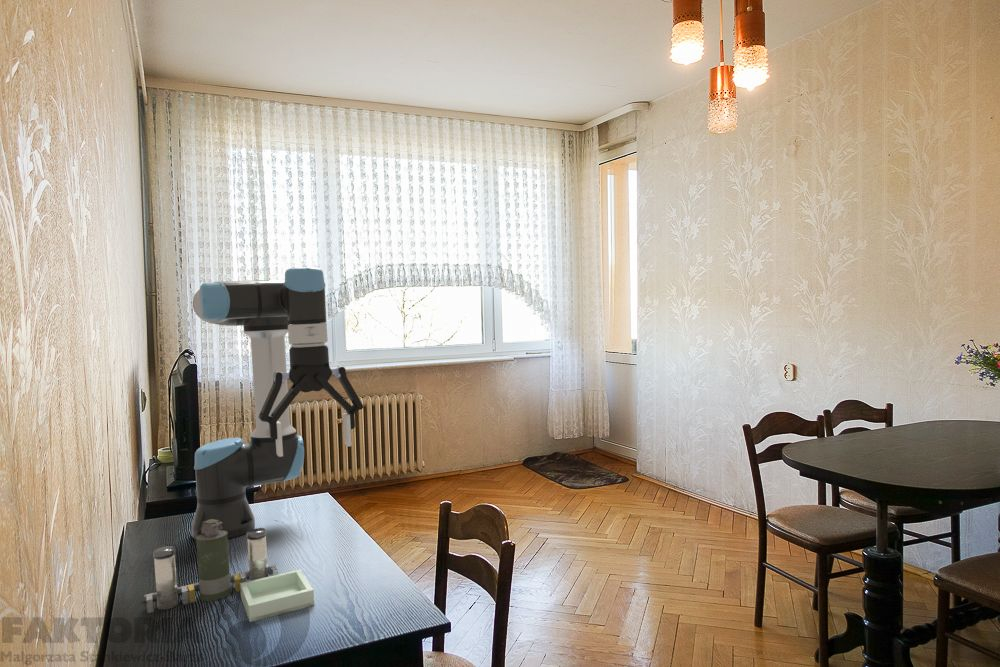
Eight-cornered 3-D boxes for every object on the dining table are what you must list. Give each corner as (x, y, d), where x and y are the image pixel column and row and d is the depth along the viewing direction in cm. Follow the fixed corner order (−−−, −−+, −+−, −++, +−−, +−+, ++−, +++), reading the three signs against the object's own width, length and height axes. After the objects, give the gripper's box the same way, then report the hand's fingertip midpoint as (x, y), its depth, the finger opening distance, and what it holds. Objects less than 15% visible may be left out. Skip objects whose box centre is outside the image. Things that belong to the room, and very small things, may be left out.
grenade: (238, 590, 132) (233, 518, 131) (211, 603, 126) (206, 527, 126) (218, 585, 135) (213, 514, 134) (191, 597, 130) (186, 523, 129)
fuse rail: (144, 599, 129) (140, 545, 129) (274, 569, 142) (271, 520, 141) (144, 614, 123) (140, 557, 122) (281, 581, 135) (278, 529, 135)
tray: (241, 598, 128) (240, 583, 128) (300, 583, 134) (300, 569, 134) (249, 622, 118) (248, 606, 118) (314, 605, 124) (313, 589, 124)
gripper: (245, 350, 120) (252, 463, 121) (374, 341, 132) (380, 444, 133) (239, 349, 127) (246, 456, 128) (363, 340, 139) (368, 438, 140)
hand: (314, 450), depth 131 cm, fingers open, 13 cm apart
